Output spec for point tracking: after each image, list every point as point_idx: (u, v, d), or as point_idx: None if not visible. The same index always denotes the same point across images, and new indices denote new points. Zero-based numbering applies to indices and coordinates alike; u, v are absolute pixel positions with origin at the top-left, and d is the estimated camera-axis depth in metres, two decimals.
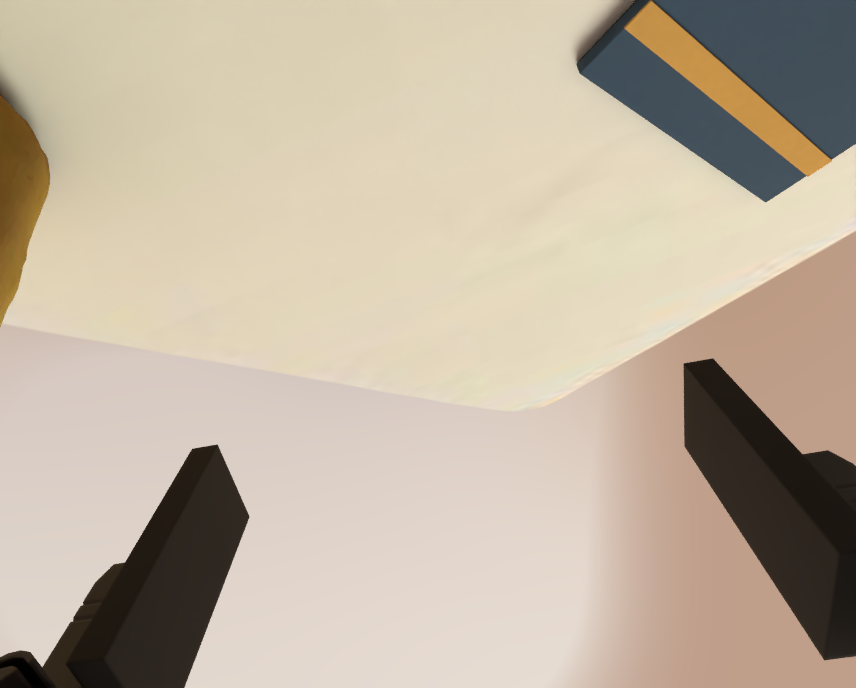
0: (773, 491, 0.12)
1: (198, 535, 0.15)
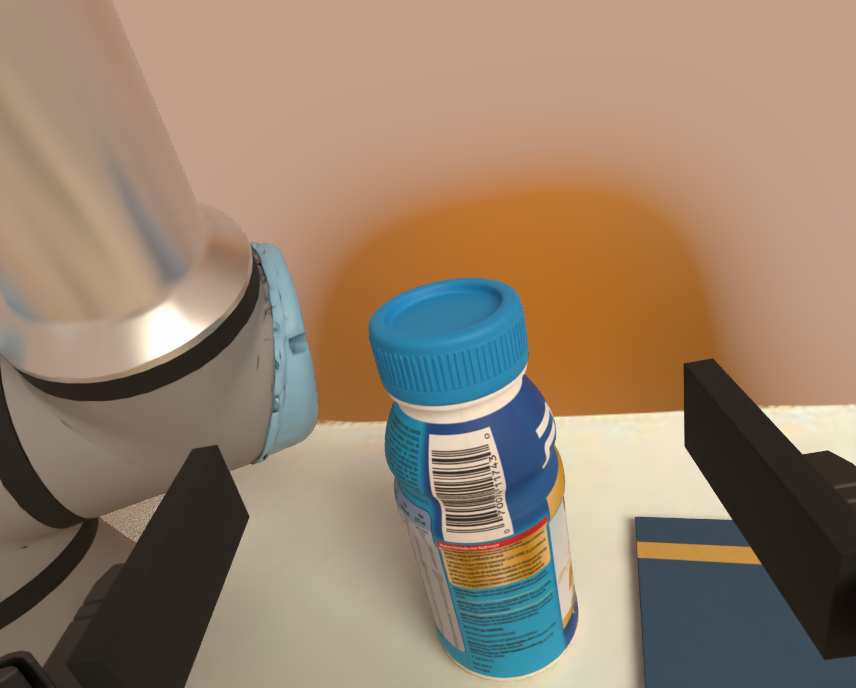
0: (773, 491, 0.12)
1: (198, 535, 0.15)
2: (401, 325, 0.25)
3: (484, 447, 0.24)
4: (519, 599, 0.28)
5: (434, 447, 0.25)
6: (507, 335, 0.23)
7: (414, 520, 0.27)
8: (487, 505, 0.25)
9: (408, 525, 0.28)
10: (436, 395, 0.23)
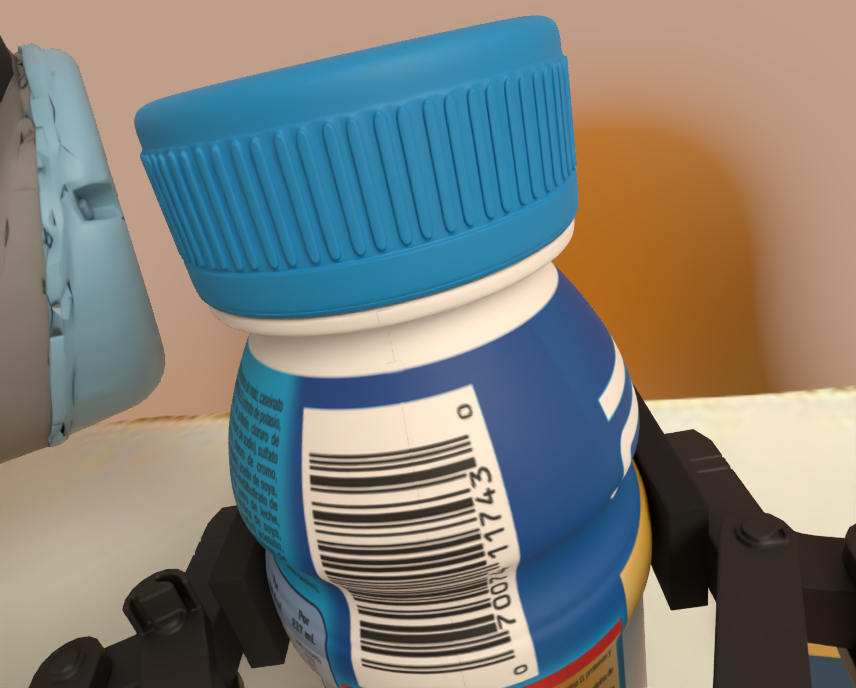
0: None
1: None
2: None
3: (456, 444, 0.08)
4: None
5: (315, 444, 0.09)
6: (526, 83, 0.07)
7: (291, 624, 0.11)
8: (467, 601, 0.09)
9: (285, 630, 0.12)
10: (304, 278, 0.07)
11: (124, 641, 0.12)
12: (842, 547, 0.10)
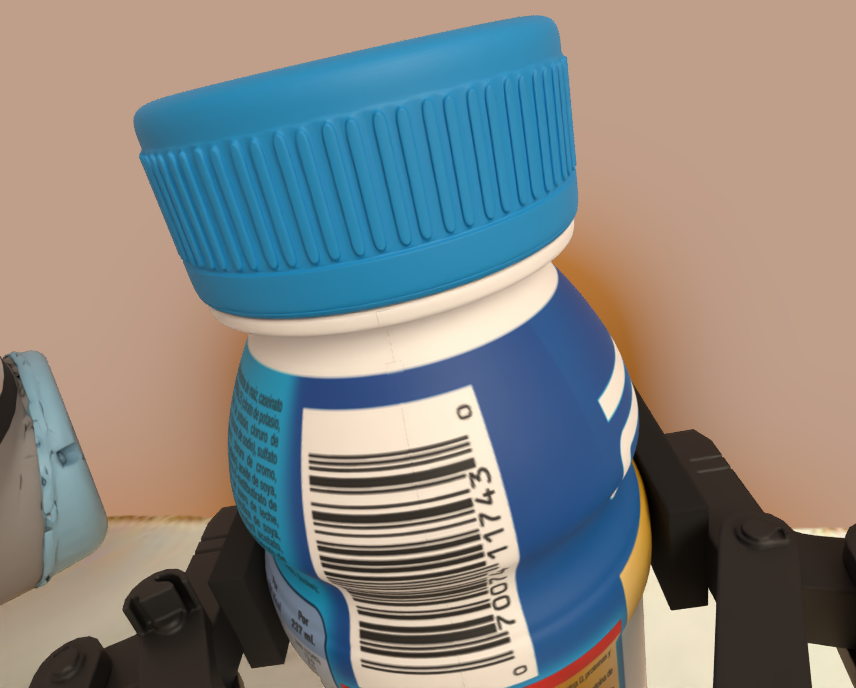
0: None
1: None
2: None
3: (455, 444, 0.08)
4: None
5: (315, 445, 0.09)
6: (525, 84, 0.07)
7: (289, 625, 0.11)
8: (467, 602, 0.09)
9: (285, 631, 0.12)
10: (303, 279, 0.07)
11: (124, 640, 0.12)
12: (842, 547, 0.10)
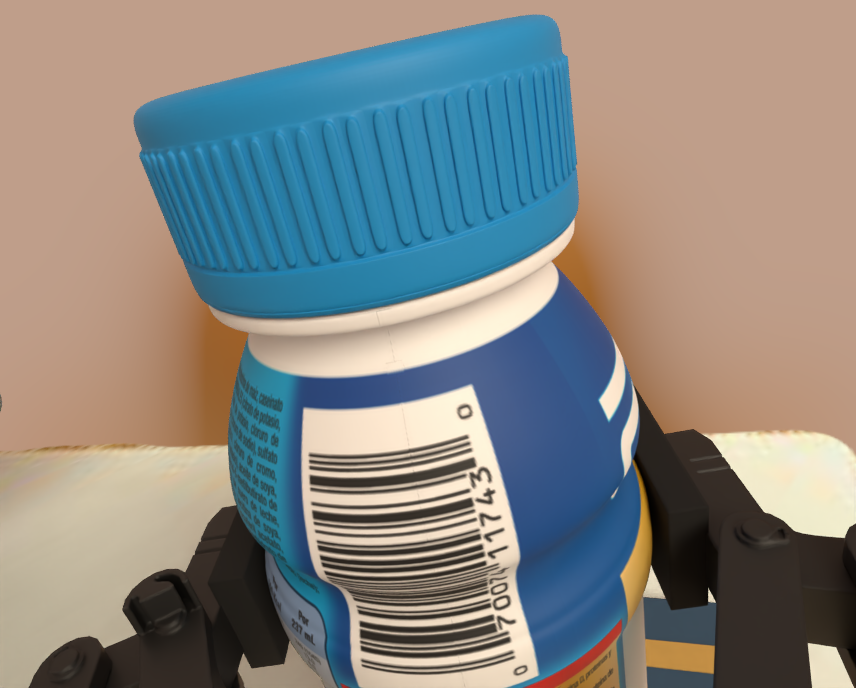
0: None
1: None
2: None
3: (455, 443, 0.08)
4: None
5: (315, 445, 0.09)
6: (525, 83, 0.07)
7: (290, 625, 0.11)
8: (467, 602, 0.09)
9: (285, 631, 0.12)
10: (303, 278, 0.07)
11: (124, 640, 0.12)
12: (842, 547, 0.10)
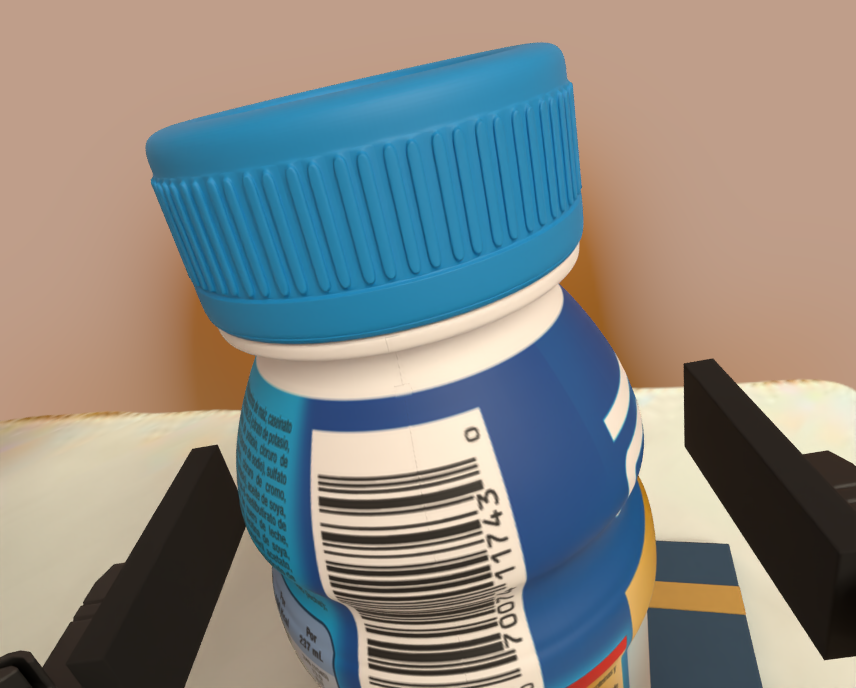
0: (773, 491, 0.12)
1: (198, 535, 0.15)
2: None
3: (463, 467, 0.08)
4: None
5: (324, 466, 0.09)
6: (532, 114, 0.07)
7: (298, 641, 0.11)
8: (474, 620, 0.09)
9: None
10: (314, 307, 0.08)
11: None
12: None
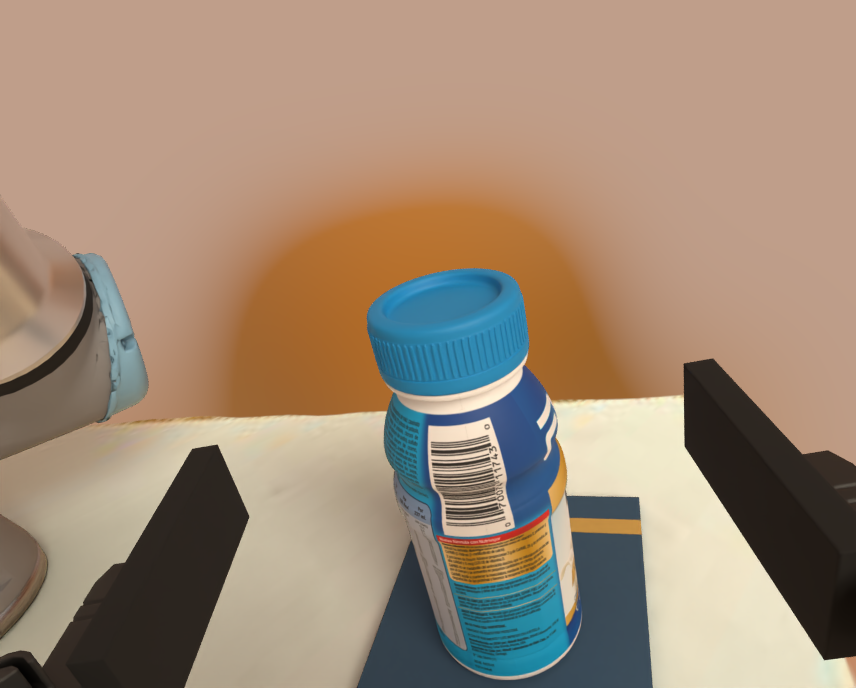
0: (773, 491, 0.12)
1: (198, 535, 0.15)
2: (399, 315, 0.25)
3: (484, 438, 0.24)
4: (521, 595, 0.27)
5: (433, 438, 0.24)
6: (507, 323, 0.23)
7: (413, 514, 0.27)
8: (487, 497, 0.25)
9: (408, 519, 0.27)
10: (435, 384, 0.23)
11: None
12: None
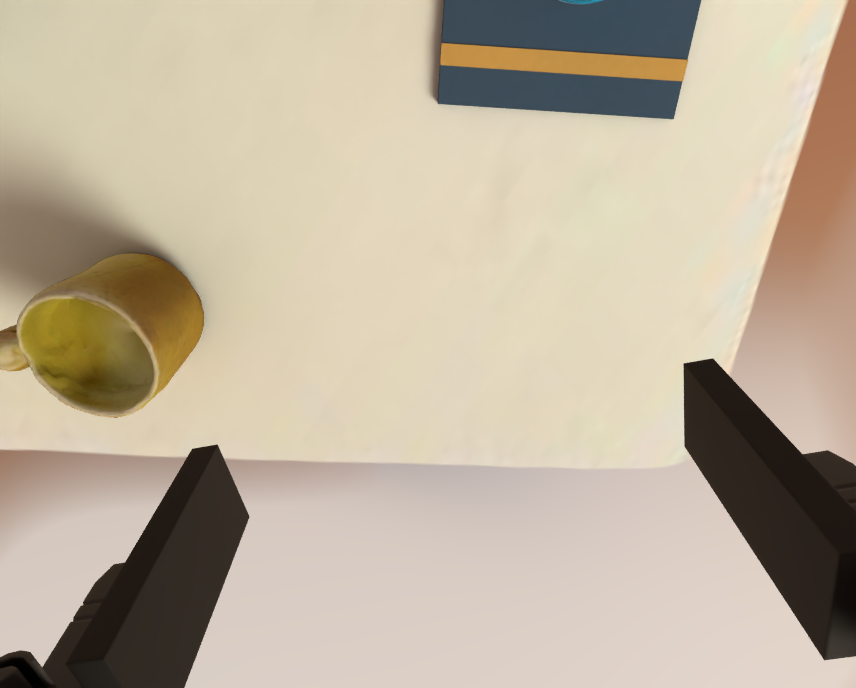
0: (773, 491, 0.12)
1: (198, 535, 0.15)
2: None
3: None
4: None
5: None
6: None
7: None
8: None
9: None
10: None
11: None
12: None
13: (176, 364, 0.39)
